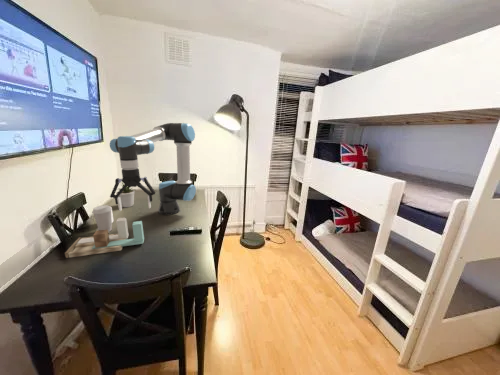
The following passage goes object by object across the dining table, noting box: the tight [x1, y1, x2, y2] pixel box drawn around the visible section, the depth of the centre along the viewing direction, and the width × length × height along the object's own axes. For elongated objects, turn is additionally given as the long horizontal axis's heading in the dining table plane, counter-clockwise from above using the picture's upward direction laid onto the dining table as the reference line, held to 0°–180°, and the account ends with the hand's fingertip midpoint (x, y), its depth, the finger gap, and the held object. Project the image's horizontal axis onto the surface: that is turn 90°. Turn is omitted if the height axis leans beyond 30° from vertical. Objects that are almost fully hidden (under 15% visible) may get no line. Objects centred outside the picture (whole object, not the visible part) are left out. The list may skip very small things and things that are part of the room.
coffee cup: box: [92, 204, 113, 233], centre depth 127 cm, size 10×10×15 cm
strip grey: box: [77, 217, 130, 244], centre depth 114 cm, size 23×5×11 cm, turn 109°
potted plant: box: [115, 182, 136, 208], centre depth 168 cm, size 13×14×20 cm
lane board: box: [64, 233, 125, 259], centre depth 112 cm, size 23×16×3 cm
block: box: [92, 230, 110, 248], centre depth 108 cm, size 5×5×7 cm
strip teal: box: [92, 220, 145, 249], centre depth 110 cm, size 23×5×11 cm, turn 109°
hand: (135, 208), depth 110 cm, fingers open, 13 cm apart
